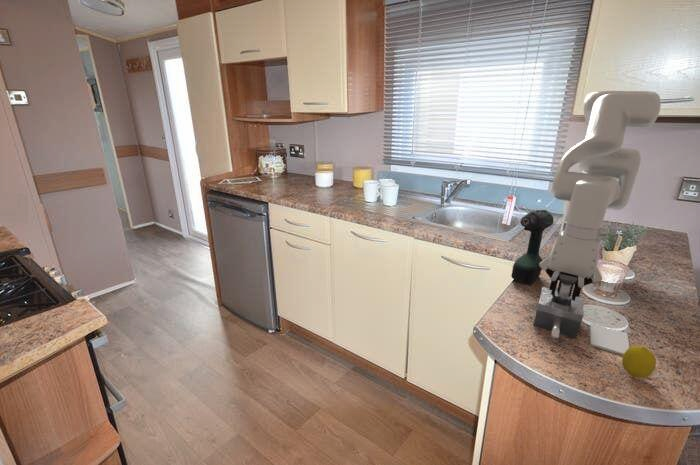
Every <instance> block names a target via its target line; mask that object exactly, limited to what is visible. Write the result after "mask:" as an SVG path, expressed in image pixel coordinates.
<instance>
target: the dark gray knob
mask: <svg viewBox="0 0 700 465" xmlns="http://www.w3.org/2000/svg"><path fill="white" fill-rule="evenodd" d="M557 279H558V281H559V282H558V285H557V288H556V291H557V293H556V297H555V301H554V302H555V303H558V304H562V305H566V306H568V304H569V300H570V297H571V294H572V293H573V290H574V286H575V284H578V276H576V275H572V274H567V273H563V272H560V273H559V275H558V277H557Z"/></svg>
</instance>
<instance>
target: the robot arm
mask: <svg viewBox="0 0 700 465" xmlns="http://www.w3.org/2000/svg"><path fill="white" fill-rule="evenodd" d="M661 103H662V102H661V97H660V95H659V94H658V93H657V92H656V91H650V90H649V91H646V90H645V91H644V90H640V91H638V90H600V91H593V92H590V93H588V94H587V95H586V97H585V99H584V101H583V115H584V121H585V124H586V133H585V136H584V139H583V140H582V141H580V142H578V143H576V145H574V146H572V147H571V148H569V150H568V151H567V152H565V154H564V155H563V156H562V157H561V158H560V160H559V162H558V165H557V168H556V171H555V174H554V179H553V181H552V186H551V192H552V196H553V197H554V198H555V199H557V200H559V201H565V202H566V203H565V204H566V205H565V209H564V215H563V219H562V221H561V226H560V230H559V231H558V233H557V235H556V237H555V239H554V242H553V244H552V247H551V251H550V253H549V255H548V256H547V257H546V258H544V259H542V260H543V261H542V262H540V264H539V266H540V267H541V268H542V270H543V271H544V272H545V273H546V275H547V276H548V277H549V278H550V280H551V281H550V285H549V290H552V293H551V295H554V294H555V290H556V291H557V288H558V284H559V282H558V281H559V280H558V279H557V277H558V275H559V273H560V272H563V273H567V274H572V275H576V276H578V284H574V286H573V289H572V293H571V294H572V300H574V301H575V298H576V297H579V296H580V294H581V291H582V289H583V288H584V287H586V286H587V285H590V284H592V283H597V282H601V281H603V276H602V274H601V271H600V269H599V267H598V261H599V257H600V252H601V243H602V239H601V237H602V236H603V237H607V235H608V230H605V229H603V227H602V225H603V222H604V218H605V216H606V212H607V210H612V211H613V210H614V211H619V210H623V209H625V207H626V206H627V204H628V202H629V200H630V197H631V194H632V192H633V187H634V184H635V183H636V182H635V181H636V178H637V176H638V172H639V169H640V165H641V160H642V159H641V156H642V155H641V153H640V151H639V150H637V149H635V148H632V147H622V145H623V143H624V139H625V133H626V129H627V127H632V128H633V127H634V128H649V127H651V126H653V125H654V124H655V122H656V121H657V119H658V117H659V114H660V111H661V105H662V104H661ZM576 164H578V168H579V171H580V172H578V171H577V172H576V171H570V169H571V168H572V167H573V166H575V165H576Z"/></svg>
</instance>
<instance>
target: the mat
mask: <svg viewBox="0 0 700 465" xmlns="http://www.w3.org/2000/svg"><path fill="white" fill-rule="evenodd" d="M605 327H606V326H603V327H602V325H600V324H596V323H592V322H591V323H590V324H589V336H590V338H589V344H590V347H591V346H592V347H595V348H597V349H600V350H603V351H604V350H605V351H608V352H610V353H614V354H616V355H620V356H623V355H624V353H625V352H626V351H627V349H629V348H630V347H631V346H630V341H629V337H628V335H629V334H628V333H627V332H624V331H622V330H621V331H620V330H616V329H614V330H612V329H613V328H611V329H607V328H608V327H607V328H605Z"/></svg>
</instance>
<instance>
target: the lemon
mask: <svg viewBox="0 0 700 465" xmlns="http://www.w3.org/2000/svg"><path fill="white" fill-rule="evenodd" d="M629 347H630V348H629V349H627V351H626V352H625V353H624V355H622V358H621V363H622V367H623V369H624V371H625V372H626V373H628V374H629V375H630V376H631V377H632V378H639V379H645V378H648V377H650V376H651V375H652V374H653V373H654V372H655V369H656V366H657V359H656V356H655V353H653V351H651V350H650V349H649V348H647V347H646V346H642V345H633V346H629Z"/></svg>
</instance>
